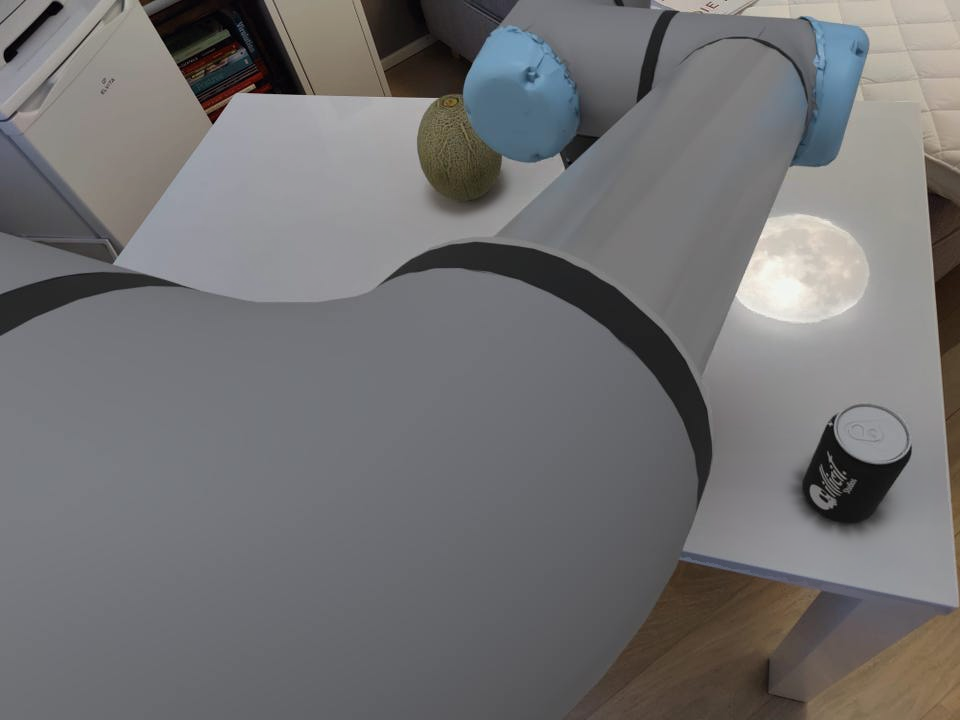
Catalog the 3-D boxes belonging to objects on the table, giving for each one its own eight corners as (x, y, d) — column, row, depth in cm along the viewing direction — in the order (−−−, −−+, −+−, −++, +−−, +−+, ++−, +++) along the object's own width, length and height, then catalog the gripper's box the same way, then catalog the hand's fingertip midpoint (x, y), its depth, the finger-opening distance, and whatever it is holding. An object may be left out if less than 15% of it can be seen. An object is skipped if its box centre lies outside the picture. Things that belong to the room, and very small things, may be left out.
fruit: (489, 225, 97) (469, 134, 85) (418, 212, 101) (389, 123, 89) (520, 170, 102) (505, 78, 90) (451, 160, 106) (428, 70, 94)
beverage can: (875, 534, 64) (918, 475, 55) (798, 517, 66) (826, 458, 57) (876, 470, 68) (917, 404, 58) (802, 457, 70) (830, 391, 60)
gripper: (688, 123, 54) (673, 315, 73) (598, 51, 62) (605, 242, 81) (605, 163, 53) (611, 347, 72) (523, 85, 61) (548, 270, 80)
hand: (608, 291), depth 76 cm, fingers closed
